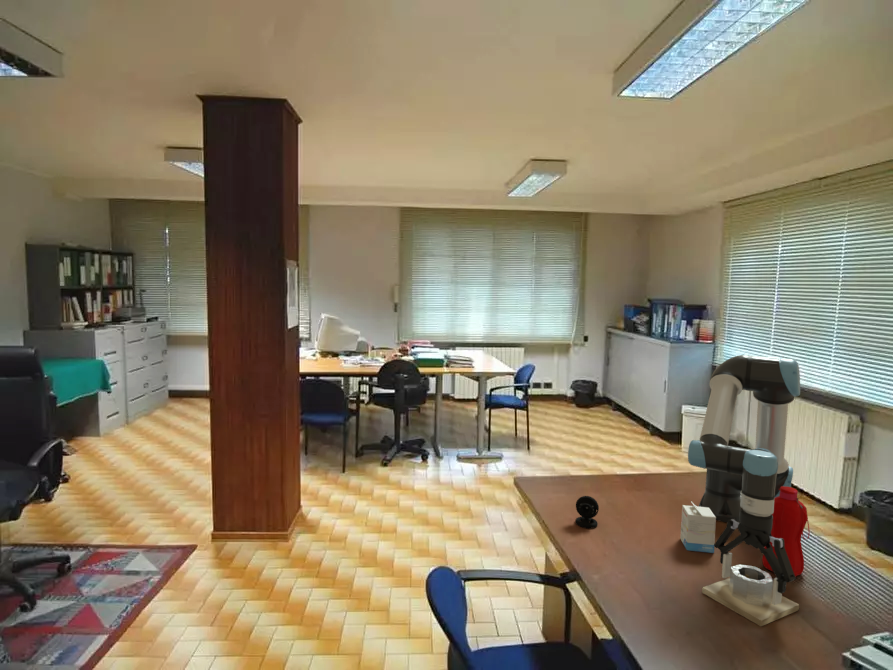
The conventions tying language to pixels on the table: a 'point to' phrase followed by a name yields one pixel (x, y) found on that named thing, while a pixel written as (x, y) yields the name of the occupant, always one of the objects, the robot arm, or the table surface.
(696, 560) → the table surface
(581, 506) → the webcam
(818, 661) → the table surface
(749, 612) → the shaft block
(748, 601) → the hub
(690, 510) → the ink box
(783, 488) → the water bottle
